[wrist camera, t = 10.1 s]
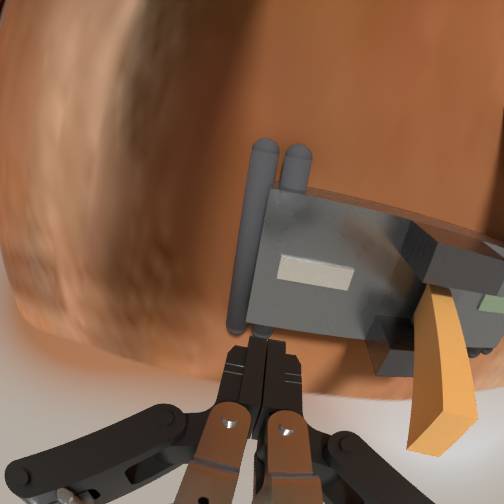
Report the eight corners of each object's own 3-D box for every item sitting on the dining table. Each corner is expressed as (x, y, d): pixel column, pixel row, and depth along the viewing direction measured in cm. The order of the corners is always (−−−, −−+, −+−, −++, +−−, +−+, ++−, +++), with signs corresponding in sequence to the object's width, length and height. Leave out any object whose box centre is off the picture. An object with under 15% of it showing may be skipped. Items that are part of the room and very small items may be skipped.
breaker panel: (271, 180, 20) (266, 204, 14) (522, 248, 19) (563, 281, 13) (249, 300, 24) (238, 359, 18) (483, 331, 24) (512, 372, 17)
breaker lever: (431, 264, 18) (455, 396, 7) (451, 272, 18) (490, 405, 7) (409, 314, 20) (397, 458, 9) (428, 321, 19) (428, 465, 8)
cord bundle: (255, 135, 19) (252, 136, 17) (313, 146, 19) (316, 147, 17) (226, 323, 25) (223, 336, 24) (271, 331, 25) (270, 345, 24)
